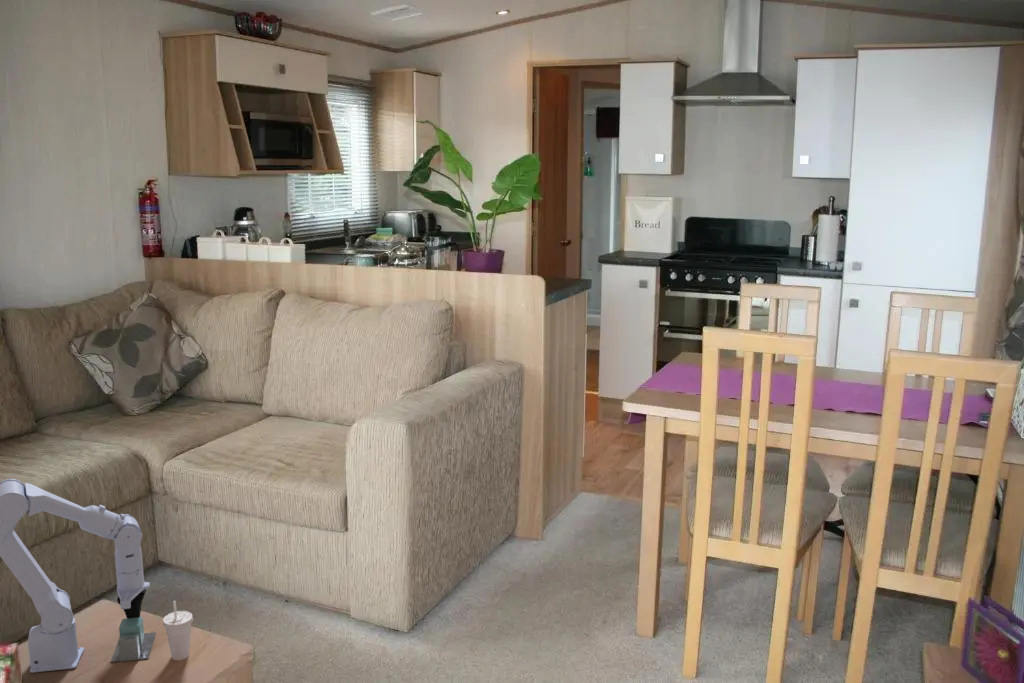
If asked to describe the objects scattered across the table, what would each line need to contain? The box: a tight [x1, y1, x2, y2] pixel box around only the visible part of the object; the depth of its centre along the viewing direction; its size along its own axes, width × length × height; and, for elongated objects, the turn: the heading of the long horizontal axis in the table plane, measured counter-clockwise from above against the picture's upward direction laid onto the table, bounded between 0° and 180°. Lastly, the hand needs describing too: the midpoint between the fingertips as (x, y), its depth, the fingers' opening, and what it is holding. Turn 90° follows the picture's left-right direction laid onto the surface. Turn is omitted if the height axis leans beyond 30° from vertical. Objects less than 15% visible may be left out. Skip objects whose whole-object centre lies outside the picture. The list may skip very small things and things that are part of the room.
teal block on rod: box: [118, 616, 145, 646], centre depth 205 cm, size 4×4×5 cm
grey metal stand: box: [110, 631, 157, 663], centre depth 207 cm, size 8×11×6 cm
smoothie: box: [162, 600, 194, 661], centre depth 203 cm, size 6×6×14 cm
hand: (134, 621), depth 208 cm, fingers closed
